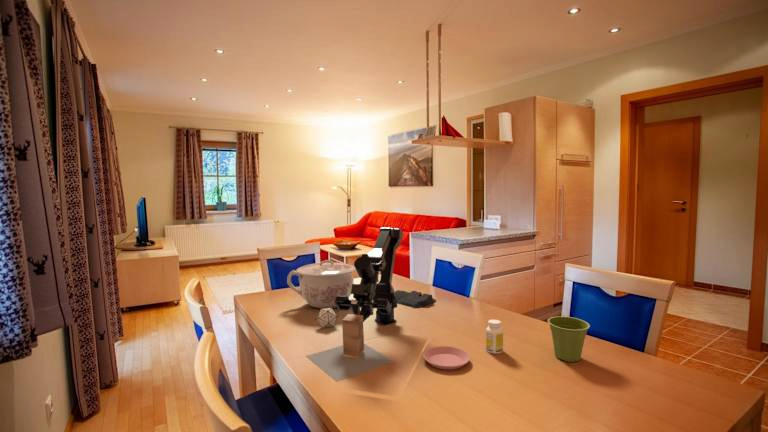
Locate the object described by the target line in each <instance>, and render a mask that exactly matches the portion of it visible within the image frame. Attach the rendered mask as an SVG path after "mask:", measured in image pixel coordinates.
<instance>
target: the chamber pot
mask: <svg viewBox="0 0 768 432" xmlns="http://www.w3.org/2000/svg"><path fill="white" fill-rule="evenodd" d="M355 271H356V269H355V266H354V264H353V265H352V264H349V263H345V262H336V261H335V262H333V261H332V260H330V259H325V260H322V261H321V262H317V263H310V264H305V265H303V266H300V267H298V268H297V269H296V270H295V269H293V270H291V271H290V272H289V273H288V275H287V276H286V277H287V278H286V279H287V280H286V283H287V285H288V286H289V287H290V289H291V291H292V290H293V291H294V292H296V293H297V294H298V295H300V297H301V298H302V299H303V300H304V301H305V302H306V303H307V304H308V306H309V307H312V308H316V309H319V307H320V308H321V309H324V308H331V307H332V306H333V308H332V309H334V308H338V307H337V306H336V304H335V302H334V300H335V298H336V296H338V295H341V296H347V297H348V298H350V296H352V294H351V288H352V284H355V283H354V279H355V278H354V277H353V275H352V274H353V273H354V272H355ZM292 276H297V277H298V282H299V289H298V288H297V287H295V285H294V284H293V283H292Z"/></svg>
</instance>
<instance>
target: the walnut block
mask: <svg viewBox="0 0 768 432" xmlns="http://www.w3.org/2000/svg"><path fill="white" fill-rule="evenodd" d="M341 324H342V325H341V326H342V346H343V352H344V356H345V357H352V358H359V357H360V356H361V354H362V353H363V352H364V344H365V336H364V322H363V315H355V314H354V313H348V314H346V315H345V316H344V318H342V320H341Z"/></svg>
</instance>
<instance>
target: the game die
mask: <svg viewBox="0 0 768 432" xmlns="http://www.w3.org/2000/svg"><path fill="white" fill-rule="evenodd" d="M318 309H319V312H318V314H317V317H316V318H314V320H315V321H317V322H318V324H319V326H320V330H323V328H335V323H336V321H337V318H339V315H338V314H336V312H335V311H334V308H333V306H332V307H331V308H324V309H321V308H320V307H319V308H318Z"/></svg>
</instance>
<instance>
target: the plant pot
mask: <svg viewBox="0 0 768 432" xmlns="http://www.w3.org/2000/svg"><path fill="white" fill-rule="evenodd" d="M547 323H548V324H549V329H550V331H551V339H552V344H553V351H554V356H555V357H556V358H557V359H558V358H559V359H558V360H560V359H561V361H562V360H563V361H564V362H567V361H568V363H576V362H575V361H577V362H579V361H580V360H581V357H582V352H583V350H584V349H583V348H584V343H585V339H586V335H587V333H588V330H589V329H590V327H591V325H590V323H588V322H587V321H585V320H583V319H580V318H577V317H571V316H564V315H563V316H561V315H559V316H557V315H556V316H552V317H549V318H548V319H547Z"/></svg>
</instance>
